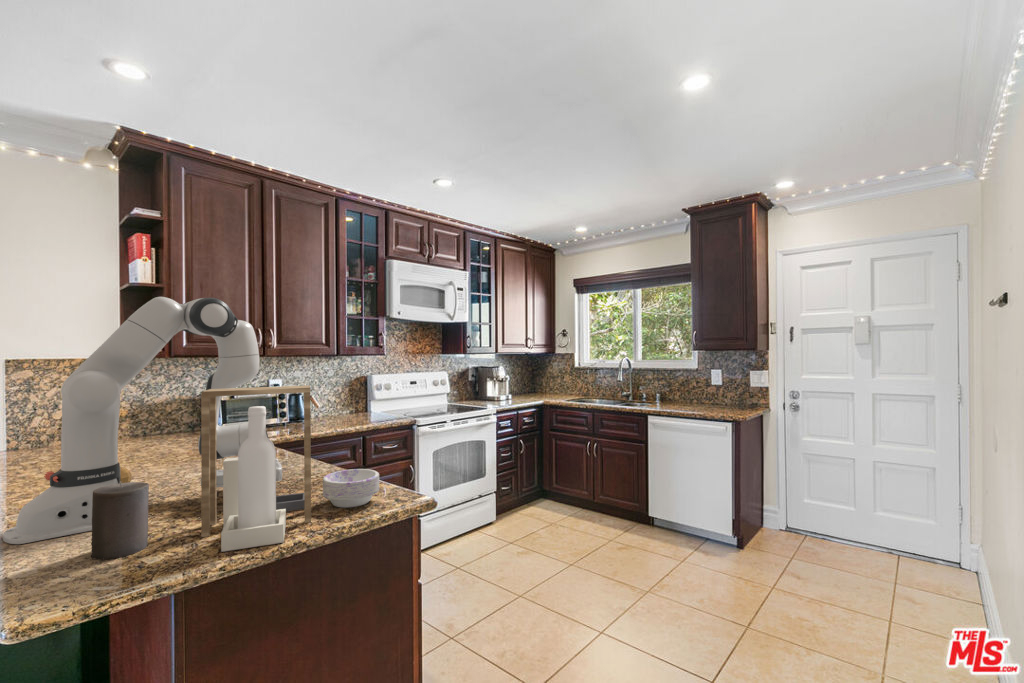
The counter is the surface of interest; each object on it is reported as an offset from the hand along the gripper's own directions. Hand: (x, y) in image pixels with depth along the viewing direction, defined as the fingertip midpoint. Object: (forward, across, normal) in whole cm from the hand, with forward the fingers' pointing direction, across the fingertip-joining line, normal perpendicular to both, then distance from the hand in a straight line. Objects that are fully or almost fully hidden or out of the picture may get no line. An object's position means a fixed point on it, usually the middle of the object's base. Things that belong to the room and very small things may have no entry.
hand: (240, 482), depth 131 cm
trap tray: (+2, +10, +8) cm, 13 cm away
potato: (-41, -40, +8) cm, 58 cm away
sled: (+20, +5, +7) cm, 22 cm away
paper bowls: (+6, +28, +8) cm, 30 cm away
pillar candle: (+19, -20, +8) cm, 29 cm away
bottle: (+23, +6, +8) cm, 25 cm away
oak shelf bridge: (+13, +6, +8) cm, 16 cm away
